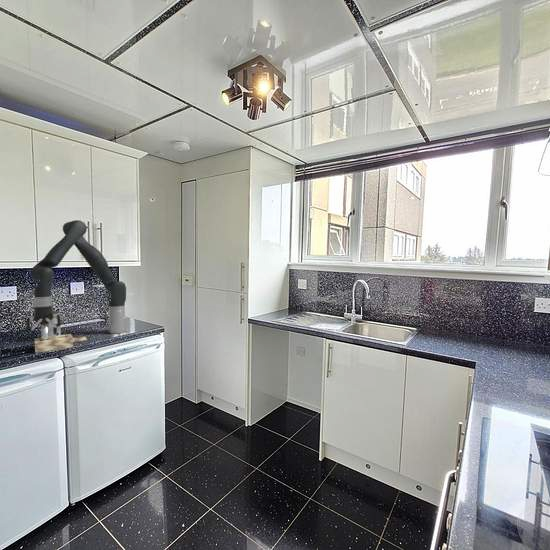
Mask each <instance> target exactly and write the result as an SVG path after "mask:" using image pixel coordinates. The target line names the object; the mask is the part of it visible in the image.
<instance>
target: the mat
mask: <svg viewBox="0 0 550 550" xmlns="http://www.w3.org/2000/svg"><path fill="white" fill-rule="evenodd" d="M84 341H88V339H87V336H81V337H73V343H76V342H84Z"/></svg>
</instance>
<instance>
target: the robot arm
mask: <svg viewBox="0 0 550 550" xmlns="http://www.w3.org/2000/svg"><path fill="white" fill-rule="evenodd" d="M87 229H88V227H87V224H86V223H85V222H84V221H81V220H72V221H68V222H65V223H64V224H63V225H62V232H63V234H64V236H63V237H62V238H61V240H59V241H58V242H57V243H56V244H55V245H53V247H51V248H50V250H49V251H48V252H47V253H46V255H45V256H44V258H43V259H41V260H40V261H39V262H37V263H36V264H35V265H34V266H33V267H32V268H31V270H30V273H29V275H30V278H31V279H33V280H35V281H39V284H38V285H35V286H34V288H33V295H34V296H33V297H34V299H33V311H34V315H33V317H29V316H28V317H26V330H29V331H30V332H31V334H30V335H31V337H33V338H35V337H36V333H35V332H36V331H35V329H36V327H38V325H39V326H41V325H43V324H49V323H50V324H51V325H52V326H53V334H54V335H55V333H57V327H58V326H60V325H61V326H62V323H61V314H60V315H59V314H57V315H54V316H53V313H52V310H53V298H52V286H53V282H54V279H55V273H54V270H53V268H56V267H58V266H59V264H61V262H62V260H63V259H64V257H65V256H66V255H67V253H68V252H69V251H70V250H71V249H72V248H73V246H75V247H76V249H77V250H78V252H79V253H80V254H81V256H82V257H83V258H84V260H85V261H86V262H87V264H88V265H89V267H90V268H91V269H92V270H93V272H94V273H95V274H96V276H97V277H98V278H99V279H100V281H101V283H102V284H103V286H104V288H105V290H106V292H107V293H109V294H110V300H109V301H108V332H109V334H113V333H115V334H122V333H126V332H127V317H126V300H127V286H126V284H125V282H123V281H120V280H117V279H116V278H115V277H114V275H113V274H112V272H111V271H110V267H109V264H108V261H107V260H106V258H105V257H104V255H103V254H102V252H101V251H100V250H99V249H97V247H95V246H94V245H92V244H91V243H90V242H88V240H86V238H85V237H84V235H85V234H86V233H87ZM54 317H55V319H57V323H58V324H55V323H53V322H52V321H51V320H52V319H53V318H54ZM32 321H34V324H33V325H32V326H30V324H31V322H32ZM125 331H126V332H125Z"/></svg>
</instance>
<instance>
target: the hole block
mask: <svg viewBox="0 0 550 550" xmlns="http://www.w3.org/2000/svg"><path fill="white" fill-rule="evenodd" d="M73 338H74V336H73V335H72V334H71V333H67V334H61V335H59V336H51V337H49V340H44V341H41V337H37V338H34V351H35V354H36V353H37V354H38V353H42V352H43V353H44V352H47V351H49V352H50V351H56V350H63V349H69V348H74V342H73Z"/></svg>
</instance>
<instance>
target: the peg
mask: <svg viewBox="0 0 550 550" xmlns="http://www.w3.org/2000/svg"><path fill="white" fill-rule="evenodd" d="M40 333H41V337H40V338H41V341H44V340H49V326H41V325H40Z"/></svg>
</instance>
